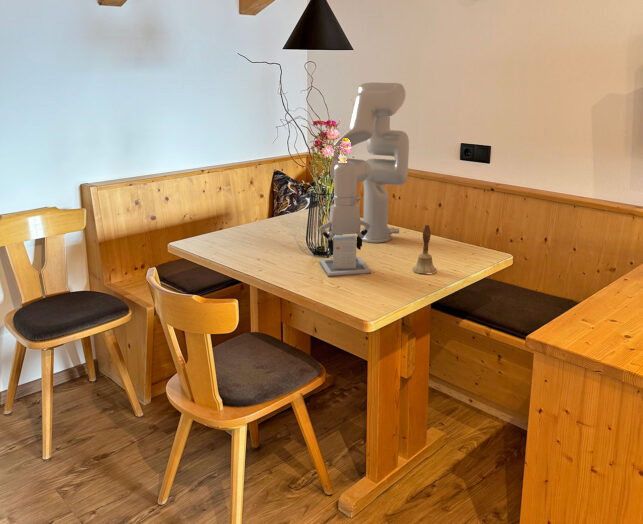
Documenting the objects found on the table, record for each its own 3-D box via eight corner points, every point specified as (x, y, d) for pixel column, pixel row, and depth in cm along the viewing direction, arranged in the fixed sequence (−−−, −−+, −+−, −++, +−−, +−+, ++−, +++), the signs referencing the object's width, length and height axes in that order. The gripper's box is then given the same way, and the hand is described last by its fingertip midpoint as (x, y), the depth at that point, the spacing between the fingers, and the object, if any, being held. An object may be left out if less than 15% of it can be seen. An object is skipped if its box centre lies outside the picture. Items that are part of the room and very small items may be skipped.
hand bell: (417, 265, 224) (419, 221, 219) (440, 269, 220) (443, 224, 215) (408, 272, 217) (410, 226, 212) (431, 276, 213) (433, 230, 208)
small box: (355, 263, 224) (356, 234, 221) (356, 269, 219) (356, 239, 215) (332, 263, 224) (332, 234, 221) (332, 269, 219) (332, 239, 216)
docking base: (360, 260, 229) (360, 256, 229) (371, 273, 216) (371, 270, 216) (319, 263, 227) (319, 259, 226) (327, 276, 213) (327, 273, 213)
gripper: (367, 196, 219) (366, 244, 224) (317, 199, 215) (317, 247, 221) (373, 201, 212) (372, 251, 217) (322, 204, 208) (322, 254, 214)
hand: (344, 249), depth 219 cm, fingers open, 9 cm apart
